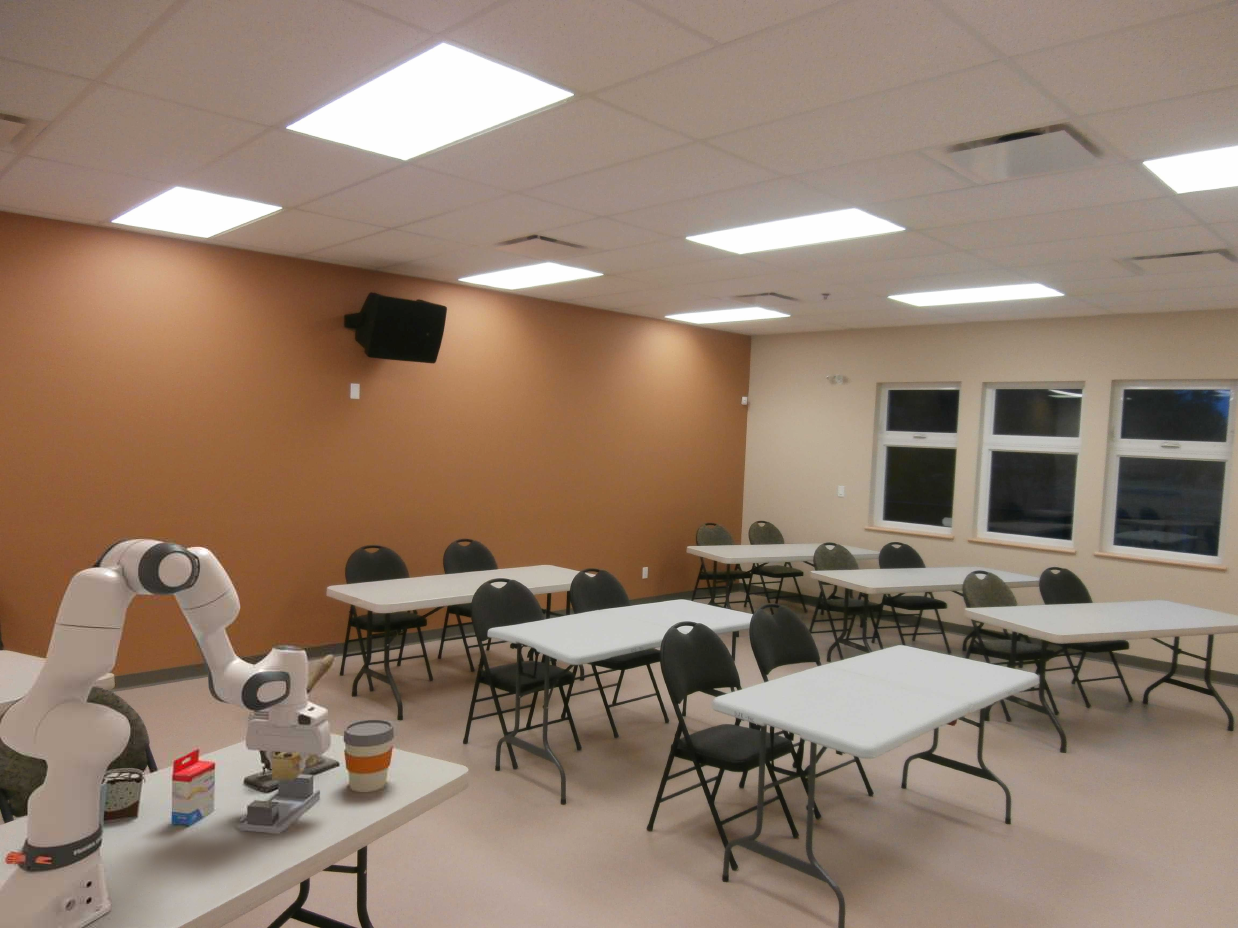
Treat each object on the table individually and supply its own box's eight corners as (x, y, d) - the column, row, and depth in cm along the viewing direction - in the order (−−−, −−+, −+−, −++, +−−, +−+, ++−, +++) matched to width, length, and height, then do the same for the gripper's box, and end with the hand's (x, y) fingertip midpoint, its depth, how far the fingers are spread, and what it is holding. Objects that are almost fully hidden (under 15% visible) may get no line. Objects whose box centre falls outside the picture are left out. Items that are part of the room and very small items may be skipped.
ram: (271, 825, 177) (271, 807, 177) (246, 823, 178) (247, 805, 178) (281, 816, 181) (282, 799, 181) (257, 814, 182) (257, 797, 182)
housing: (302, 771, 191) (303, 750, 191) (291, 780, 186) (292, 758, 186) (283, 770, 192) (283, 749, 192) (272, 778, 187) (272, 757, 187)
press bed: (279, 833, 177) (280, 804, 177) (238, 829, 178) (239, 801, 178) (319, 798, 195) (320, 772, 195) (282, 795, 196) (282, 769, 196)
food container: (149, 805, 189) (149, 764, 189) (144, 816, 184) (145, 774, 183) (89, 813, 185) (89, 771, 184) (82, 824, 179) (83, 781, 179)
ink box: (189, 826, 179) (189, 763, 179) (170, 824, 180) (171, 760, 180) (215, 810, 188) (216, 749, 187) (197, 807, 189) (198, 747, 188)
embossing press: (240, 783, 203) (242, 668, 202) (321, 755, 222) (323, 650, 222) (264, 794, 197) (266, 676, 196) (345, 765, 216) (347, 657, 216)
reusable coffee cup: (355, 772, 211) (356, 717, 210) (400, 775, 209) (401, 720, 209) (333, 793, 198) (334, 734, 198) (381, 796, 197) (382, 737, 197)
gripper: (240, 713, 187) (239, 771, 187) (321, 719, 184) (320, 777, 185) (255, 705, 193) (255, 760, 193) (334, 710, 191) (333, 766, 191)
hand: (287, 768), depth 189 cm, fingers closed on housing, 5 cm apart
